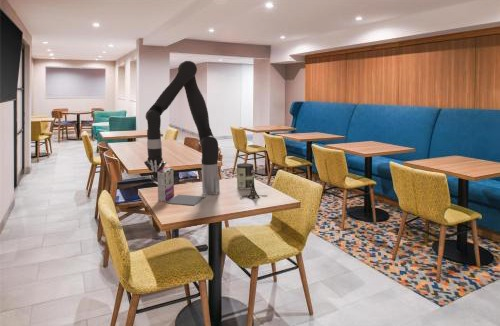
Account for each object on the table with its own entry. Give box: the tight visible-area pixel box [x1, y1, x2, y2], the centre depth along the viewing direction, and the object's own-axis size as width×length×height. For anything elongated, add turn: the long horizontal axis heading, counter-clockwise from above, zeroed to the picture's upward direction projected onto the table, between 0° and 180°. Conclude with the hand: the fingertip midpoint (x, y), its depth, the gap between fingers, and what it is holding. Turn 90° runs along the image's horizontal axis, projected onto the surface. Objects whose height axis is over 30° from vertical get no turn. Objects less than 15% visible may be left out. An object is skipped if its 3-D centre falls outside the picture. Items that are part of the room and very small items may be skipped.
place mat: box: [164, 194, 207, 207], centre depth 202 cm, size 17×16×1 cm
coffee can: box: [236, 162, 254, 190], centre depth 227 cm, size 10×10×14 cm
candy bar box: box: [157, 166, 175, 202], centre depth 204 cm, size 11×5×16 cm, turn 168°
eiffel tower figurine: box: [239, 176, 268, 200], centre depth 205 cm, size 15×10×13 cm
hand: (156, 178), depth 205 cm, fingers closed
